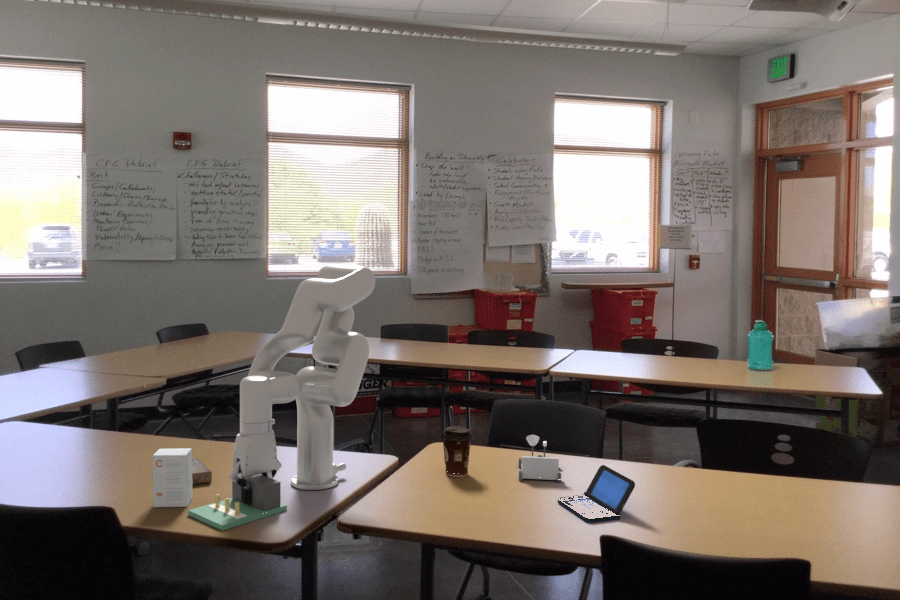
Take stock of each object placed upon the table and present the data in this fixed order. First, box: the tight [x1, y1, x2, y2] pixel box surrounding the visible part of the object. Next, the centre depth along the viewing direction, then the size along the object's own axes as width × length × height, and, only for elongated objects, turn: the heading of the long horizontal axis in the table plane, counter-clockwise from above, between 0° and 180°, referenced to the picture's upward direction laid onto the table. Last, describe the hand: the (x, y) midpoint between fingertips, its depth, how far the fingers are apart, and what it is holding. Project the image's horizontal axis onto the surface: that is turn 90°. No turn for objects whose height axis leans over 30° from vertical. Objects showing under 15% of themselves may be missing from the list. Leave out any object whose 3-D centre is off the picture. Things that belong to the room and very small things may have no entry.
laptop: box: [557, 464, 636, 524], centre depth 193 cm, size 16×13×9 cm
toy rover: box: [518, 433, 562, 484], centre depth 223 cm, size 18×10×12 cm
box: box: [192, 457, 213, 485], centre depth 211 cm, size 11×17×3 cm, turn 31°
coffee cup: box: [441, 425, 473, 478], centre depth 219 cm, size 9×8×13 cm
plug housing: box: [231, 473, 281, 511], centre depth 189 cm, size 5×13×6 cm, turn 50°
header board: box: [187, 493, 288, 532], centre depth 185 cm, size 18×14×4 cm
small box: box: [152, 447, 194, 508], centre depth 190 cm, size 8×6×13 cm
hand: (256, 499), depth 189 cm, fingers closed on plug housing, 4 cm apart
